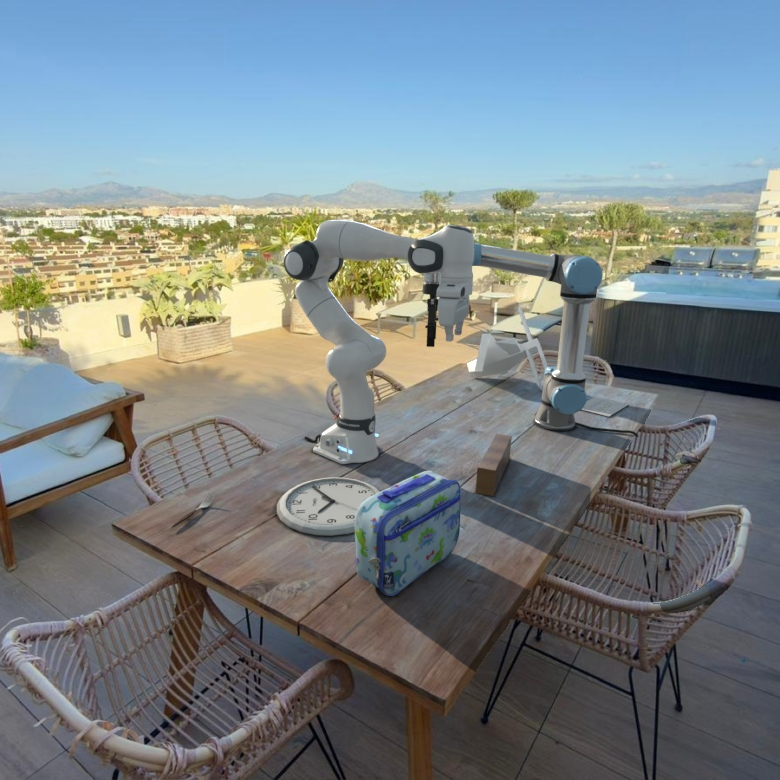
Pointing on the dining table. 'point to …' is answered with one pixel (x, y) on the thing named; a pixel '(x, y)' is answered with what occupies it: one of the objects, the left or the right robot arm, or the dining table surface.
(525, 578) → the dining table surface
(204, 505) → the fork
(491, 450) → the bar
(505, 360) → the white plastic object
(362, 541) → the lunch box
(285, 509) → the wall clock
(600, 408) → the invitation card
